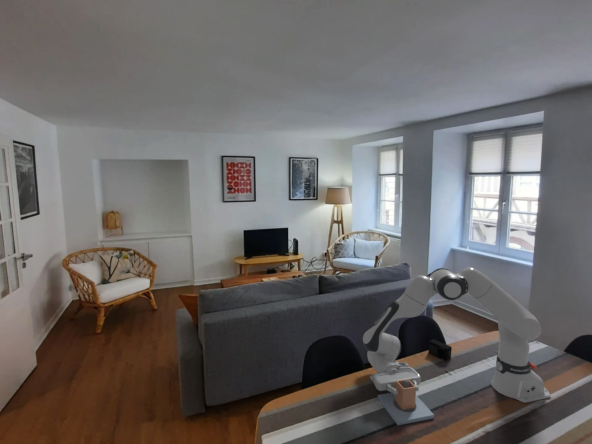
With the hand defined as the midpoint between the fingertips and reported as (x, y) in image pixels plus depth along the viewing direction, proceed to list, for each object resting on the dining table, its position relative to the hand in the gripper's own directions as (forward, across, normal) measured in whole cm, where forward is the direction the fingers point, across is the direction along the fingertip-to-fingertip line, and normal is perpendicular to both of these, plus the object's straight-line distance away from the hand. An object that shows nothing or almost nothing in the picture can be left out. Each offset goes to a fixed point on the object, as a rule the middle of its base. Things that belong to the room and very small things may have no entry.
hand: (406, 391), depth 134 cm
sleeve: (-1, 0, +6) cm, 6 cm away
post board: (-1, 0, +8) cm, 8 cm away
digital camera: (-32, +39, +8) cm, 51 cm away
